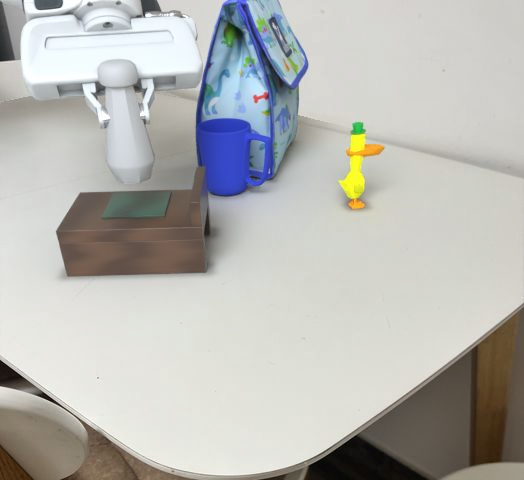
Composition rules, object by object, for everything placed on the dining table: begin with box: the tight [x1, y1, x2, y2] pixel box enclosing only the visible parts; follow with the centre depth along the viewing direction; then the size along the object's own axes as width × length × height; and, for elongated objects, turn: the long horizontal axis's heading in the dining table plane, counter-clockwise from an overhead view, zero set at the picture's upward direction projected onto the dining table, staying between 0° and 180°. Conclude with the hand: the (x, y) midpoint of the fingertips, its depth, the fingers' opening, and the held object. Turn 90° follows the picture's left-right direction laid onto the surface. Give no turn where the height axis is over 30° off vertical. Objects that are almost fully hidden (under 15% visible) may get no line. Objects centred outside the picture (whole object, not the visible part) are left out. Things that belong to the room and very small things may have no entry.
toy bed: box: [55, 166, 212, 277], centre depth 72 cm, size 17×12×9 cm
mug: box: [195, 118, 272, 197], centre depth 87 cm, size 8×12×10 cm
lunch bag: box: [195, 0, 309, 181], centre depth 95 cm, size 22×17×26 cm
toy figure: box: [337, 121, 386, 210], centre depth 81 cm, size 7×4×12 cm, turn 106°
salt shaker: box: [97, 59, 156, 185], centre depth 66 cm, size 6×6×13 cm
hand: (125, 123), depth 65 cm, fingers closed on salt shaker, 3 cm apart
